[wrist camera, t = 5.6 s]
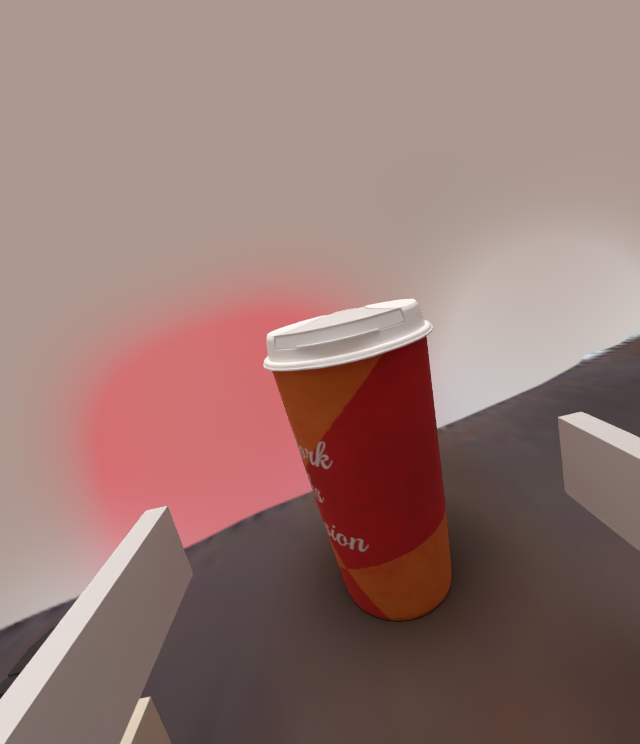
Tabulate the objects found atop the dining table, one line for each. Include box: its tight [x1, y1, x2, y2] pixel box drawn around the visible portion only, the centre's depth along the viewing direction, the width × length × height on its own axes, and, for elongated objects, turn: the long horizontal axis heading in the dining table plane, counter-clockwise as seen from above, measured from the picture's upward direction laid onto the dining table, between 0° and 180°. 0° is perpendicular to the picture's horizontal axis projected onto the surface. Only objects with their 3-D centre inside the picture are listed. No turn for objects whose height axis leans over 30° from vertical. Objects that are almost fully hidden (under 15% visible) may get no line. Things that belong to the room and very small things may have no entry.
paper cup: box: [263, 299, 451, 621], centre depth 17 cm, size 8×8×14 cm
